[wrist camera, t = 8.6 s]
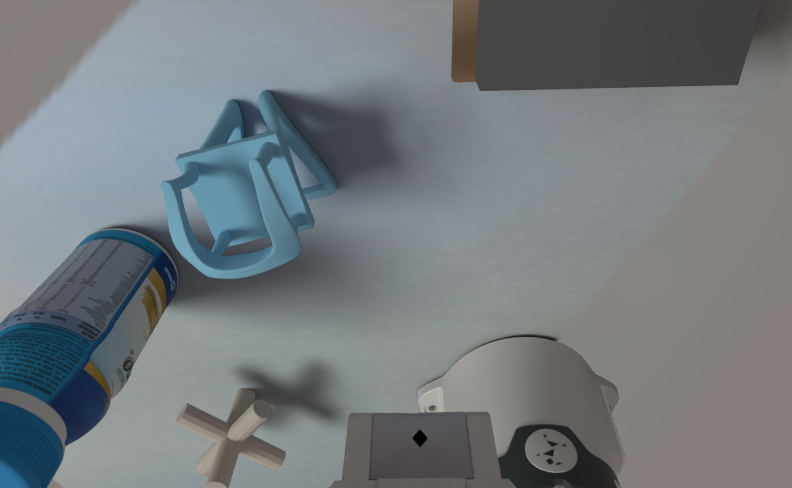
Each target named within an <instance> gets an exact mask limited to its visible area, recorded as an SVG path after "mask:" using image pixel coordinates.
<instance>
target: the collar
mask: <svg viewBox="0 0 792 488" xmlns="http://www.w3.org/2000/svg"><path fill="white" fill-rule="evenodd" d="M762 3H763V0H479V8H478V28H477V48H476V69H475V80H476V82H477V85H478V87H479V89H480V91H499V90H541V89H583V88H625V87H668V86H710V85H738V82H739V79H740V76H741V72H742V69H743V66H744V62H745V59H746V56H747V52H748V49H749V46H750V42H751V39H752V36H753V33H754V29H755V26H756V23H757V19H758V16H759V13H760V9H761V6H762Z"/></svg>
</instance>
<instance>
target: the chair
mask: <svg viewBox="0 0 792 488" xmlns="http://www.w3.org/2000/svg"><path fill="white" fill-rule="evenodd" d="M258 106H259V109H260V112H261V114H262V116H263V118H264V121H265V123H266V125H267V128H268V130H269V131H268V132H265V133H261V134H257V135H254V136H250V137H247V138H244V128H243V120H242V115H241V110H240V108H239V105H238V104H237V103H236V102H235V101H233V100H229V101H227V103H226V105H225V107H224V109H223V111H222V113H221V114H220V116H219V118H218V120H217V121H216V123H215V125H214V126H213V128H212V130H211V132H210V133H209V135H208V136H207V138H206V140H205V141H204V143H203V144H202V146H201V147H200V149H199V150H195V151H191V152H187V153H183V154H179V156H178V157H177V158H176V159H175V162H176V164H177V166H178V168H179V170H180V172H181V174H182V176H180V177H179V178H176V179H174V180H169V181H163V182H162V183H161V188H162V191H163V195H164V199H165V203H166V210H167V218H168V225H169V231H170V235H171V238H172V241H173V243H174V245H175V247H176V248H177V250H178V251H179V252H180V254H181V255H182V256H183V257H184V258H185V259H186V260H187V261H188V262H190V263H191V264H192V265H193V266H194V267H195V268H197V269H198V270H199V271H200V272H201V273H203V274H204V275H206V276H208V277H212V278H220V279H236V278H244V277H249V276H253V275H257V274H260V273H263V272H265V271H268V270H271V269H273V268H276V267H278V266H280V265H282V264H285V263H287V262H289V261H291V260H293V259H294V258H296V257H297V256H298V255H299V254H300V252H301V248H302V247H301V242H300V239H299V237H298V235H297V231H300V230H304V229H308V228H313V225H314V221H315V220H314V218H313V215H312V213H311V210H310V208H309V205H308V203H307V200H310V199H314V198H318V197H322V196H326V195H331V194H333V193H334V192H335V190H336V182H335V180H334V178H333V177H332V175H331V173H330V172H329V170H328V169H327V168H326V167H325V165H324V164H323V163H322V161H321V160H320V159H319V157H318V156H317V155H316V154H315V152H314V151H313V150H312V149H311V147H310V146H309V145H308V144H307V142H306V141H305V140H304V139H303V137H302V136H301V135H300V134H299V132H298V131H297V130H296V128H295V127H294V126H293V125H292V123H291V122H290V121H289V119H288V118H287V117H286V115H285V114H284V112H283V111H282V110H281V108H280V107H279V105H278V103H277V102H276V100H275V99H274V97H273V96H272V94H271V93H270V92H268V91H263V92H261V94H260V96H259V99H258ZM228 140H229V143H227V142H228ZM287 144H288V145H289V147H290V148H291V149H292V150H293V151H294V152H295V153H296V155H297V156H298V157H299V158H300V159H301V160H302V161H303V163H304V164H305V165H306V166H307V167H308V168H309V169H310V170H311V172H312V173H313V174H314V175H315V176H316V177H317V178H318V180H319V181H320V182H321V183H322V185H319V186H315V187H310V188H306V189H302V188H301V185H300V182H299V179H298V176H297V173H296V170H295V167H294V164H293V160H292V157H291V154H290V151H289V147H288V145H287ZM186 187H189V188H190V190H191V192H192V194H193V196H194V197H195V199H196V201H197V203H198V205H199V207H200V209H201V211H202V213H203V215H204V217H205V220H206V222H207V224H208V226H209V228H210V230H211V233H212V235H213V237H214V238H215V240H216V241H215V244H214V246H213V248H212V250H211V251H209V250H207V249H206V248H205V247H203V246H202V245H201V244H200V242H199V241H198V240H197V239H196V237H195V236H194V234H193V232H192V230H191V228H190V225H189V223H188V219H187V216H186V213H185V209H184V205H183V199H182V194H181V189H183V188H186ZM266 237H271V240H272V244H273V245H272V246H270V247H268V248H265V249H262V250H259V251H255V252H251V253H246V254H241V255H234V256H224V255H223V254H224V252H225V250H226V249H227V247H230V246H234V245H238V244H242V243H246V242H250V241H253V240H257V239H261V238H266Z"/></svg>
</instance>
